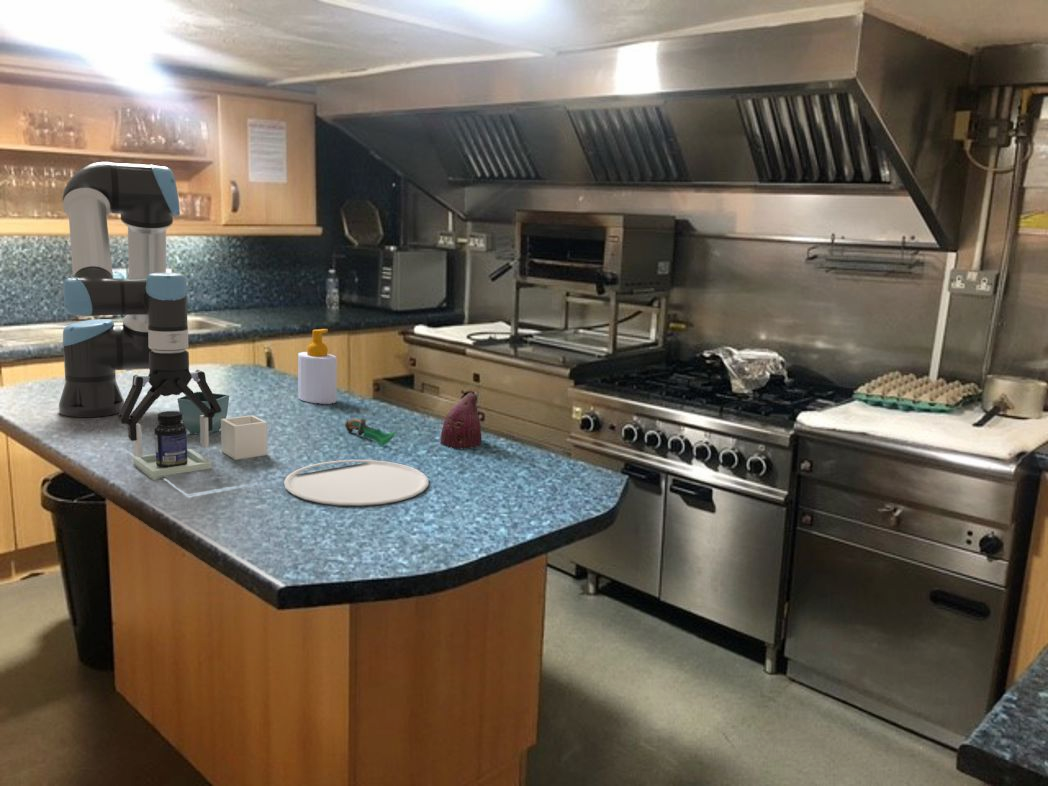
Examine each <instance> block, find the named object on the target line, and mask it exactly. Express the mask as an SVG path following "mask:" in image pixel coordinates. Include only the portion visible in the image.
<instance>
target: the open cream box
mask: <svg viewBox="0 0 1048 786" xmlns="http://www.w3.org/2000/svg"><path fill="white" fill-rule="evenodd" d="M220 441H221V444H220V445H221V452H222V454H225V455H227V456H228V457H230V459H231V458H232V459H234V460H243V459H249V458H255V457H262V456H263V457H264V456H268V422H267V421H265V420H264V419H261V418H260V417H257V416H255V415H254V414H253V415H252V414H251V415H244V416H235V417H228V418H227V417H226V419H221V429H220Z"/></svg>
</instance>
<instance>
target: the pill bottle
mask: <svg viewBox="0 0 1048 786" xmlns="http://www.w3.org/2000/svg"><path fill="white" fill-rule="evenodd" d="M157 421H158V423H159V424H157V425H155V427H154V444H155V445H154V447H155V449H154V450H155V454H156V465H157V466H158V467H162V468H168V467H175V466H182V465H186V464H187V461H188V460H187V449H188V443H187V438H188V437H187V429H186V426H185V425H184V424H183V422H182V413H181V412H180V411H176V410H170V411H161V412H158V413H157Z"/></svg>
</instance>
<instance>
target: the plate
mask: <svg viewBox="0 0 1048 786" xmlns="http://www.w3.org/2000/svg"><path fill="white" fill-rule="evenodd" d="M354 462H355V463H356V462H357V463H356V464H350V465H345V466H338V467H334V468H328V469H322V470H317V471H311V472H304V473H300V472H303V471H305V470H308V469H310V468H311V469H312V468H315V467H319V466H323V465H329V464H337V463H354ZM359 462H360V463H359ZM299 473H300V474H299ZM283 485H284V488H285V490H286V491H287V492H289V493H291V494H292V495H293V496H295V497H297V498H300V499H302V500H304V501H305V500H306V501H309V502H314V503H318V504H323V505H333V506H346V507H347V506H348V507H349V506H350V507H351V506H352V507H364V506H365V507H367V506H376V505H377V506H378V505H386V504H392V503H397V502H400V501H404V500H407V499H411V498H414V497H415V496H418V495H419V494H421V493H423V492H424V491H425V490H426V489H427V488H428V487H429V478H428V477H427V476H426V474H425V473H423V472H422V471H421V470H418V469H417V468H415V467H411V466H408V465H405V464H401V463H396V462H392V461H384V460H383V461H382V460H377V459H376V460H374V459H341V460H340V459H339V460H333V461H325V462H323V461H322V462H319V463H314V464H311V465H306V466H303V467H301V468H298V469H296V470H294V471H292V472H291V473H290V474H288V475H286V477H285V479H284V480H283Z"/></svg>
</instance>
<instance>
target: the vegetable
mask: <svg viewBox="0 0 1048 786" xmlns="http://www.w3.org/2000/svg"><path fill="white" fill-rule="evenodd" d="M481 429H482V428H481V422H480V418H479V415H478V410H477V397H476V393H475V391H474V390H473V391H470V392H469V393H467V394H466V395H465V396H464V397H462V398H461V399H460V400H459V401H458V402H456V403H455V404H454V405H453V407H452V408H451V409H450V410H449V411H448V412H447V415H446V416H445V418H444V421H443V425H442V428H441V433H440V444H441V445H442V444H443V445H445V447H447V446H448V447H447V448H450V447H452V448H451V449H455V448H460V449H459V450H465V449H464V448H469V449H472V448H471V447H474V448H477V447H476V446H479V447H481V446H482V431H481ZM443 445H442V446H443ZM480 445H481V446H480ZM461 448H463V449H461Z"/></svg>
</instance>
